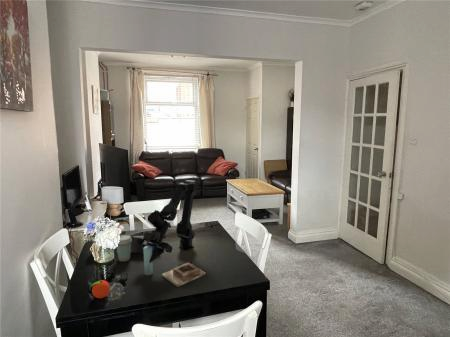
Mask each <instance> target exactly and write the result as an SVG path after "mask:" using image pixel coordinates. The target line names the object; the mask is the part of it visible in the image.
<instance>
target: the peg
mask: <svg viewBox="0 0 450 337" xmlns="http://www.w3.org/2000/svg"><path fill="white" fill-rule="evenodd" d="M143 250H144V261H143V262H144V263H143V268H144V276H145V275H146V276H151V275H153V274H154V264H153V262H154V260H153V261H152V262H151V263H150V262H149V261H150V258H151V256H152V254H153V253H152V246H145V247H144V248H143Z"/></svg>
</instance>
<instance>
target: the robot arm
mask: <svg viewBox="0 0 450 337" xmlns="http://www.w3.org/2000/svg"><path fill="white" fill-rule="evenodd" d="M199 187H200V186H199V183H198V181H197V180H192V179H191V180H190V179H186V180H185V181H183V182H179V183H178V184H177V188H176V189H175V191H174V193H173V195H172V197H171V198H170V200H169V201H168V204H166V205H165V206H163V208H162V209H161V211H159V210H158V209H157V210H156V209H155V210H154V211H153V212H151V213H150V214H148V216H147V222H148V223H149V224H151V225H152V226H153V227H154V228H155V229H154V230H151V232H149V231H144V232H143V235H142V236H143V238H142V237H139V238H137V240H136V242H137V243H138V244H139V245H141V246H143V248H144V247H145V246H154V252H153V253H152V256H151V258H150V261H149V262H150V263H151V262H152V261H153V262H154V261H155V260H156V259H157V258H158V257H159V256H161V255H162V254H164V253H165V252H166V253H168V254H169V253H170V254H172V252H173V246H171V245H170V243H168V242H163V240H164V239H166V234H167V232H168V230H169V229H170V228H172V225H171V222H172V221H174V220H175V219H176V217H177V214H178V208H179V205H180V203H181V201H182V199H183V197H184V201H183V205H182V206H183V207H182V215H181V220H180V221H179V222H177V225H176V228H175V230H176V235H177V238H179V239H180V240H179V246H178V247H179V248H180V249H182V250H184V251H187V250H190V249H193V248H195V246H194V245H193V240H194V238H196V236H195V235H196V233H195V232H194V230H193V225H192V223H191V216H192V210H193V209H192V208H193V204H194V196H196V194H197V192H198V189H199ZM145 238H147V240H149V241H147V240H146V239H145ZM141 261H143V262H144V250H143V254H142V256H141Z"/></svg>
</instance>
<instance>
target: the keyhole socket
mask: <svg viewBox="0 0 450 337" xmlns="http://www.w3.org/2000/svg"><path fill="white" fill-rule="evenodd" d="M206 275H207V274H206V272H205V271H204V270H202V269H201V268H199V267H197V266H195V265H194V264H192V263H190V262H186V263H184V264H181V265H178V266H176V267H173V268H172V269H171V270H169V271H166V272H163V273H162V274H161V276H162V277H163V278H165V279H166V280H168V281H169V283H171V284H172V285H174V286H175V287H177V288H179V287H180V286H183V285H185V284H188V283H190V282H192V281H194V280H196V279H199V278H201V277H203V276H206Z"/></svg>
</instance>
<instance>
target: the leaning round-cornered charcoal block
mask: <svg viewBox="0 0 450 337" xmlns="http://www.w3.org/2000/svg"><path fill="white" fill-rule="evenodd" d="M143 236H144V235H133V236H131V238H132V241H131V252H132V253H133V254H138V255H139V254H140V255H141V254H142V255H143V246H141V245H139V244H138V243H137V242H136V240H137V238H139V237H142V238H143ZM145 239H146V240H147V238H145ZM147 241H149V240H147ZM153 252H154V246H152V254H153Z"/></svg>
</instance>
